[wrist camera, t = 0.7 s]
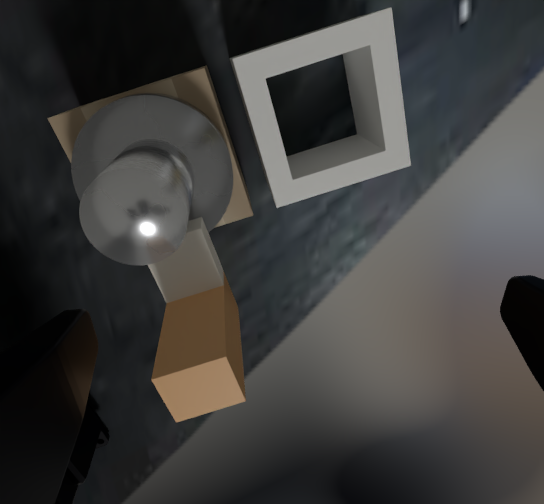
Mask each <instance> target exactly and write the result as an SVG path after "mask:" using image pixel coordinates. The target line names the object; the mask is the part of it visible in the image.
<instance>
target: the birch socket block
mask: <svg viewBox="0 0 544 504" xmlns="http://www.w3.org/2000/svg"><path fill="white" fill-rule="evenodd" d="M147 92H149V93H162V94H168V95H171V96H175V97H178V98H180V99H183V100H185V101H187V102H189V103H191V104H192V105H194V106H195V107H197V108H199V109H200V110H201V111H202V112H203V113H205V114H206V115H207V116H208V117H209V118H210V119H211V120H212V121H213V122H214V124H215V125H216V126H217V128H218V129H219V130H220V132H221V134H222V135H223V137H224V139H225V141H226V144H227V146H228V149H229V152H230V156H231V162H232V169H233V190H232V196H231V199H230V203H229V205H228V207H227V210H226V212H225V213H224V215H223V217H222V218H221V220H220V221H219V222H218V224H217V225H216V226H215V227H218V226H221V225H224V224H227V223H231V222H234V221H237V220H240V219H243V218H246V217H250V216H253V212H252V208H251V203H250V199H249V194H248V190H247V187H246V183H245V180H244V177H243V174H242V171H241V168H240V165H239V162H238V159H237V156H236V153H235V150H234V147H233V144H232V141H231V138H230V135H229V132H228V129H227V126H226V123H225V120H224V116H223V113H222V110H221V107H220V104H219V101H218V98H217V95H216V92H215V89H214V86H213V83H212V80H211V77H210V74H209V71H208V68H207V65H206V66H203V67H200V68H197V69H194V70H191V71H188V72H185V73H182V74H178V75H175V76H172V77H169V78H166V79H163V80H160V81H157V82H154V83H151V84H147V85H144V86H141V87H138V88H135V89H132V90H129V91H126V92H123V93H120V94H116V95H113V96H110V97H107V98H104V99H101V100H98V101H95V102H92V103H89V104H86V105H82V106H79V107H77V108H74V109H71V110H69V111H66V112H63V113H61V114H58V115H55V116H53V117H50V118H48V120H49V122H50V124H51V126H52V128H53V130H54V132H55V133H56V135H57V137H58V139H59V141H60V143H61V145H62V147H63V149H64V150H65V152H66V154H67V156H68V158H69V160H70V162H71V160H72V151H73V148H74V144H75V141H76V139H77V136H78V134H79V132H80V130H81V129H82V127H83V126H84V124H85V123H86V122H87V121H88V120H89V118H90V117H91V116H92V115H93V114H95V113H96V112H97V111H98V110H99V109H101V108H102V107H104V106H106V105H108V104H109V103H111V102H114V101H116V100H118V99H121V98H123V97H125V96H129V95H133V94H137V93H147ZM215 227H214V228H215Z"/></svg>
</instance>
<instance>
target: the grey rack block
mask: <svg viewBox="0 0 544 504" xmlns="http://www.w3.org/2000/svg"><path fill="white" fill-rule="evenodd" d="M340 54H343V60H344V65H345V71H346V76H347V82H348V87H349V93H350V98H351V104H352V109H353V115H354V121H355V126H356V132H357V134H356V135H353V136H350V137H347V138H343V139H340V140H337V141H334V142H331V143H328V144H325V145H321V146H318V147H315V148H312V149H309V150H306V151H303V152H299V153H296V154H293V155H290V156H287V157H286V153H285V150H284V146H283V142H282V138H281V135H280V131H279V127H278V124H277V120H276V116H275V112H274V109H273V105H272V101H271V98H270V94H269V90H268V86H267V83H266V78H269V77H272V76H275V75H278V74H281V73H284V72H287V71H290V70H294V69H297V68H300V67H303V66H306V65H309V64H312V63H315V62H318V61H322V60H325V59H328V58H331V57H334V56H337V55H340ZM229 59H230V62H231V65H232V69H233V72H234V75H235V78H236V82H237V85H238V88H239V92H240V95H241V98H242V102H243V105H244V108H245V112H246V115H247V118H248V122H249V125H250V128H251V131H252V135H253V138H254V141H255V145H256V148H257V151H258V155H259V158H260V161H261V165H262V168H263V171H264V175H265V178H266V181H267V184H268V187H269V189H270V192H271V194H272V197H273V199H274V202H275V204H276V207H277V208H278V207H281V206H284V205H288V204H291V203H294V202H297V201H300V200H303V199H307V198H310V197H313V196H316V195H319V194H322V193H326V192H329V191H332V190H335V189H338V188H341V187H345V186H348V185H351V184H354V183H357V182H360V181H364V180H367V179H370V178H373V177H376V176H379V175H383V174H386V173H389V172H392V171H395V170H398V169H402V168H405V167H408V166H411V162H410V154H409V146H408V138H407V129H406V121H405V113H404V105H403V97H402V89H401V81H400V72H399V64H398V56H397V48H396V40H395V32H394V23H393V15H392V7H391V8H388V9H384V10H380V11H377V12H373V13H369V14H366V15H362V16H358V17H355V18H352V19H349V20H346V21H343V22H340V23H336V24H333V25H330V26H327V27H324V28H321V29H318V30H315V31H312V32H309V33H305V34H302V35H299V36H296V37H293V38H290V39H287V40H284V41H281V42H278V43H274V44H271V45H268V46H265V47H262V48H259V49H256V50H253V51H250V52H247V53H244V54H240V55H237V56H234V57H231V58H229Z"/></svg>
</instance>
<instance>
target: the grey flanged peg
mask: <svg viewBox="0 0 544 504" xmlns="http://www.w3.org/2000/svg"><path fill="white" fill-rule="evenodd" d="M71 172H72V178H73V184H74V187H75V190H76V193H77V195H78V197H79V200H80V208H79V217H80V222H81V226H82V229H83V231H84V233H85V235H86V237H87V238H88V240H89V241H90V242H91V244H92V245H93V246H94V247H95V248H96V249H97V250H98V251H100V252H101V253H102V254H104V255H105V256H107V257H109V258H110V259H113V260H115V261H117V262H120V263H124V264H129V265H149V264H153V263H157V262H159V261H162V260H164V259H165V258H167V257H169V256H170V255H171V254H173V253H174V252H175V251H176V250H177V249H178V247H179V246H180V245H181V243H182V241H183V239H184V237H185V234H186V230H187V225H188V221H190V220H193V219H196V218H200V217H202V218H203V221H204V223H205V226H206V228H207V231H208V233H209V232H210V231H211V230H212V229H213V228H214V227H215V226H216V225H217V224H218V222H219V221H220V220H221V218H222V217H223V215H224V213H225V212H226V210H227V207H228V205H229V203H230V199H231V196H232V190H233V169H232V162H231V156H230V152H229V149H228V146H227V144H226V141H225V139H224V137H223V135H222V134H221V132H220V130H219V129H218V128H217V126H216V125H215V124H214V122H213V121H212V120H211V119H210V118H209V117H208V116H207V115H206V114H205V113H203V112H202V111H201V110H200V109H199V108H197V107H195V106H194V105H192V104H191V103H189V102H187V101H185V100H183V99H180V98H178V97H175V96H171V95H168V94H162V93H149V92H147V93H137V94H133V95H129V96H125V97H123V98H121V99H118V100H116V101H114V102H111V103H109V104H108V105H106V106H104V107H102V108H101V109H99V110H98V111H97V112H96V113H95V114H93V115H92V116H91V117H90V118H89V120H88V121H87V122H86V123H85V124H84V126H83V127H82V129H81V130H80V132H79V134H78V136H77V139H76V141H75V144H74V148H73V151H72V160H71Z"/></svg>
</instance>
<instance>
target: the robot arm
mask: <svg viewBox="0 0 544 504" xmlns="http://www.w3.org/2000/svg"><path fill="white" fill-rule="evenodd" d="M500 313H501V317H502V320H503V322H504V323H505V325H506V327H507V329H508V331H509V332H510V334H511V336H512V338H513V340H514V342H515V343H516V345H517V347H518V349H519V351H520V352H521V354H522V356H523V358H524V360H525V362H526V363H527V365H528V367H529V369H530V371H531V372H532V374H533V376H534V377H535V379H536V380H537V382H538V383H539V385H540V387H541V388H542V389H543V391H544V279H541V278H538V277H535V276H531V275H528V276H516V277H515V276H514V277H512V278H511V279H510V280H509V281H508V283H507V286H506V290H505V293H504V297H503V300H502V303H501V306H500ZM97 353H98V340H97V336H96V333H95V330H94V327H93V324H92V320H91V317H90V314H89V313H88V311H87V310H85V309H76V310H66V311H63V312H62V313H60V314H59V315H57V316H56V317H54V318H53V319H51V320H50V321H48V322H47V323H45V324H44V325H42V326H41V327H39V328H38V329H36V330H35V331H33V332H32V333H30V334H29V335H27V336H25V337H24V338H22V339H21V340H19V341H18V342H16V343H15V344H13V345H12V346H10V347H9V348H7V349H6V350H4V351H3V352H1V353H0V504H73V501H74V498H75V495H76V492H77V488H78V485H79V484H82V483H84V481H85V479H86V477H87V474H88V471H89V467H90V464H91V461H92V458H93V454H94V451H95V449H96V448H99V447H102V446H105V445H107V443H108V441H109V437H110V436H109V434H108V432H107V431H106V430H105V428H104V427H103V425H102V423H101V422H100V420H99V419H98V418H97V416H96V415H95V413H94V412H93V411H92V409H91V408H90V406H89V405H88V404H87V400H88V395H89V390H90V385H91V381H92V376H93V371H94V367H95V362H96V357H97Z"/></svg>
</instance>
